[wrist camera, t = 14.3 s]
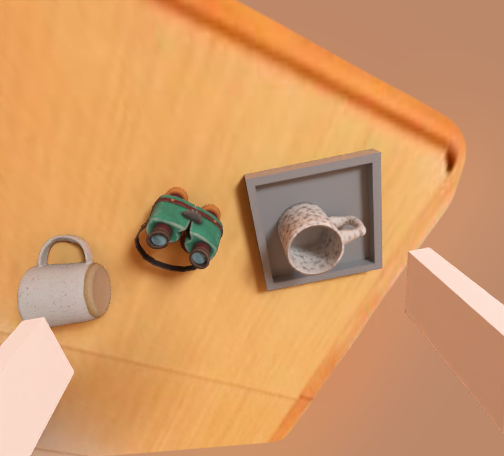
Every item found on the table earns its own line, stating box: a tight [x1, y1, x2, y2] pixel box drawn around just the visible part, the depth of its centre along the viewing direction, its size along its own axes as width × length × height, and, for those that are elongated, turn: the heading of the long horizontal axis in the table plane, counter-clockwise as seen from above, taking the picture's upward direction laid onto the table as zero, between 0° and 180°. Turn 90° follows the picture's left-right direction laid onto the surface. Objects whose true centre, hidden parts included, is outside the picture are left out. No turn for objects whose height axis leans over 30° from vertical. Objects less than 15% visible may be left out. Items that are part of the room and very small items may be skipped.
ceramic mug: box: [18, 235, 111, 327], centre depth 39 cm, size 11×8×8 cm
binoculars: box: [135, 187, 223, 272], centre depth 36 cm, size 9×11×10 cm
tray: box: [244, 149, 382, 291], centre depth 41 cm, size 16×16×2 cm
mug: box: [277, 202, 366, 275], centre depth 38 cm, size 10×7×7 cm
